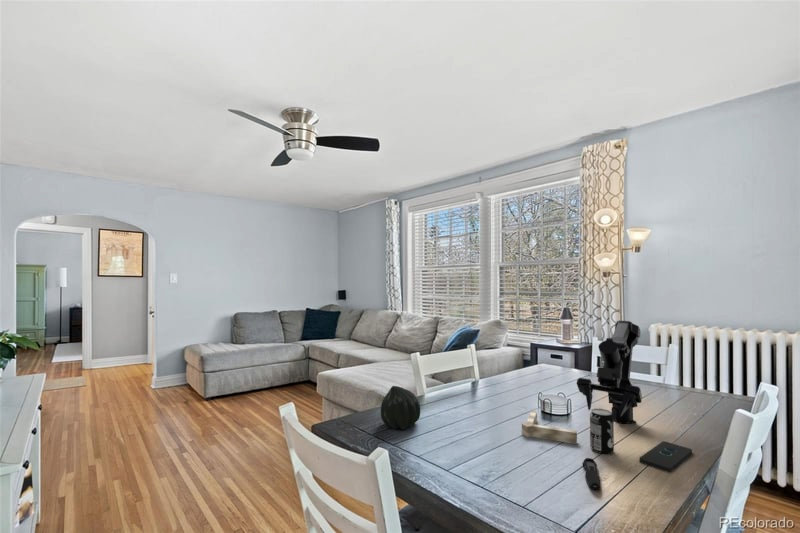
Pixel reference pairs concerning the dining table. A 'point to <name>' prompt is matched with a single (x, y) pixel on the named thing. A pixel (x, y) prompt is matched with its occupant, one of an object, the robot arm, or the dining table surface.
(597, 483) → the electric trimmer
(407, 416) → the squash
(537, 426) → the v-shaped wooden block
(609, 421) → the beverage can
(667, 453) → the smart home device
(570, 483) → the dining table surface
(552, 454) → the dining table surface
